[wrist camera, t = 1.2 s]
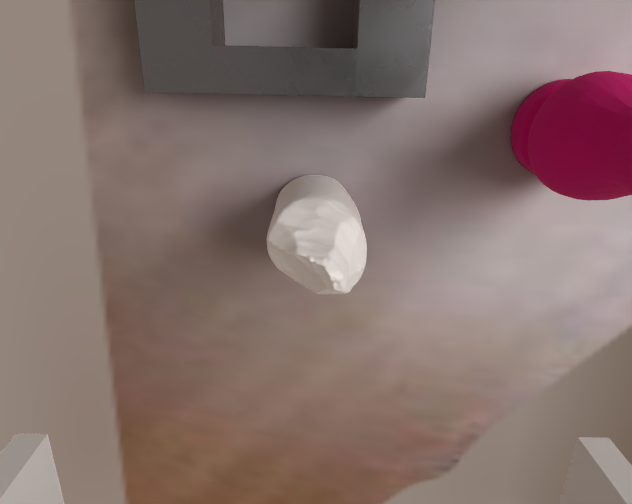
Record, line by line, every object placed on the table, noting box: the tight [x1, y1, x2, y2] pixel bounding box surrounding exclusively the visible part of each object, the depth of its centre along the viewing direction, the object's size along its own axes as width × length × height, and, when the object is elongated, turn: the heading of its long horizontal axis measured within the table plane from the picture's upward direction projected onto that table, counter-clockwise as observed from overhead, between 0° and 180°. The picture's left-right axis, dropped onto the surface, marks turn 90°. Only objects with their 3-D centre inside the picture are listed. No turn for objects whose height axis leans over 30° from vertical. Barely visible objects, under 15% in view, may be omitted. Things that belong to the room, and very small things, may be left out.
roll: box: [267, 174, 367, 294], centre depth 27 cm, size 6×12×6 cm
